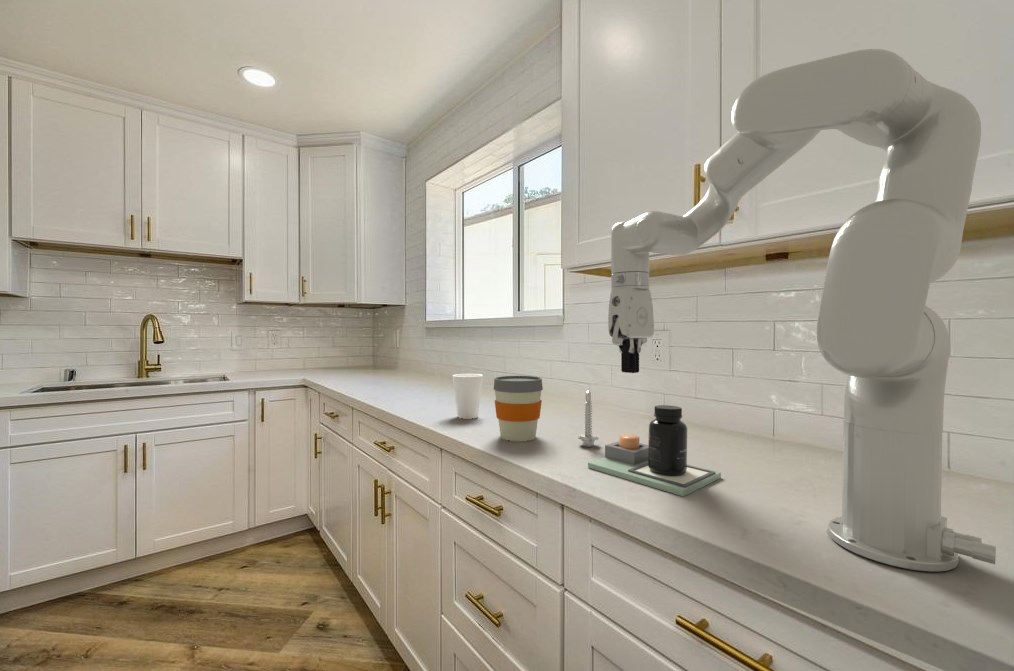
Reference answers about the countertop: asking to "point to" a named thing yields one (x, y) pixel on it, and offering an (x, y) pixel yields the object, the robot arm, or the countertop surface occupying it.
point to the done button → (629, 441)
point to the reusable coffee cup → (518, 406)
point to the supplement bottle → (667, 442)
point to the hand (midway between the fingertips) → (630, 372)
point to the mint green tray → (637, 470)
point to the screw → (588, 424)
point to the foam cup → (467, 394)
